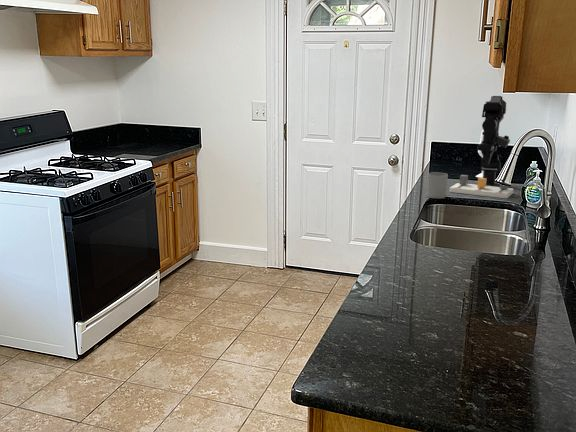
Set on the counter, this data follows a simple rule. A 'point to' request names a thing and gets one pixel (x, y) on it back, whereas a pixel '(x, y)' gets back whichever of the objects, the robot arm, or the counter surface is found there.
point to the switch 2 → (503, 187)
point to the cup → (437, 185)
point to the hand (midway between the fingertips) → (487, 164)
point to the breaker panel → (481, 190)
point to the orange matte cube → (481, 183)
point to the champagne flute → (480, 154)
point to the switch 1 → (463, 179)
